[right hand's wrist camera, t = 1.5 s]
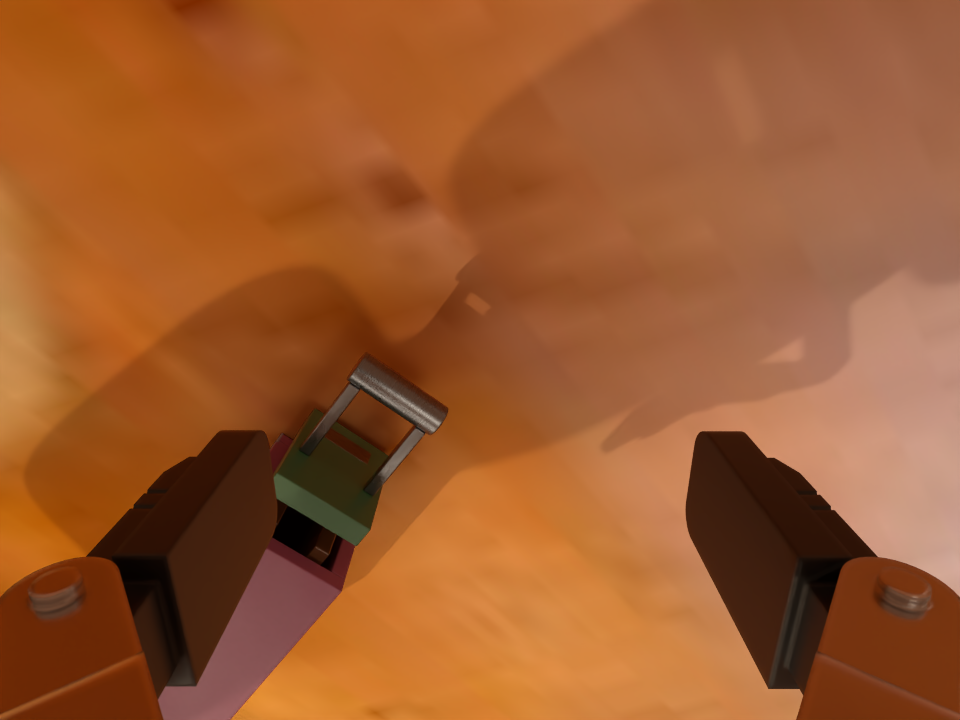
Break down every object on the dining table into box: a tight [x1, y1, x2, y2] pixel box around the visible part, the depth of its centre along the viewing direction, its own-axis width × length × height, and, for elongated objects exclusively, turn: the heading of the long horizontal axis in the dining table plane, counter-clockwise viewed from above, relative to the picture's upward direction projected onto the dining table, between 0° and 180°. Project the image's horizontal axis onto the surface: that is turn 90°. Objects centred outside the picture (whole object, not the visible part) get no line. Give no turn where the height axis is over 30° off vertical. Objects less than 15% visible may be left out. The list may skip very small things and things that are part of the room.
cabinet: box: [158, 433, 355, 720], centre depth 33 cm, size 16×6×8 cm, turn 142°
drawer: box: [272, 352, 448, 565], centre depth 31 cm, size 21×5×7 cm, turn 142°
